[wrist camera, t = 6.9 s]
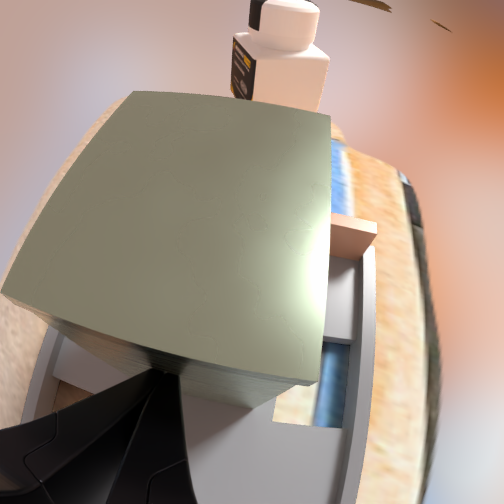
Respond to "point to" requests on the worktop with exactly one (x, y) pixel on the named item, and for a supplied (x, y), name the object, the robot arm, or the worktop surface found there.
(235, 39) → the medicine bottle
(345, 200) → the worktop surface
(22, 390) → the worktop surface
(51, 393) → the tray
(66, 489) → the robot arm
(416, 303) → the worktop surface
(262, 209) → the tea tin
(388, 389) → the worktop surface
